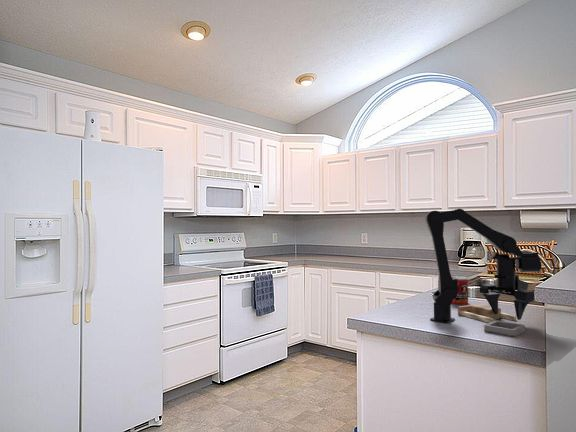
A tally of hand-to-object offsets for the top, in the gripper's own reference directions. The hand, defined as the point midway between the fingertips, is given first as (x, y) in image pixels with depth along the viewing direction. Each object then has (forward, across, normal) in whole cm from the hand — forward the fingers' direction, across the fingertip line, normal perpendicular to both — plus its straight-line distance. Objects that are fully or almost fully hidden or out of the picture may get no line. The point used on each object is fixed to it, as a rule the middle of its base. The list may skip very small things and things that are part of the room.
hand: (507, 316), depth 143 cm
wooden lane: (+2, +9, 0) cm, 9 cm away
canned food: (+2, +33, -11) cm, 35 cm away
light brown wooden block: (+2, +10, 0) cm, 10 cm away
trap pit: (+2, -7, +10) cm, 13 cm away
